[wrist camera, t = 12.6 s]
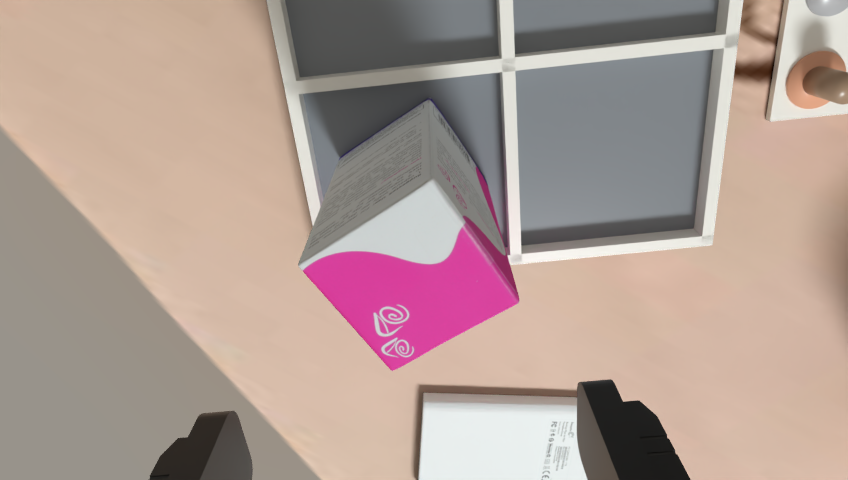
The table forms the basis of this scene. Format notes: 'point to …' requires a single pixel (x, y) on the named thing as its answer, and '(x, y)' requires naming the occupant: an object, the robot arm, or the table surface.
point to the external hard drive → (499, 438)
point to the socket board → (531, 107)
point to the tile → (810, 61)
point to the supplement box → (410, 239)
